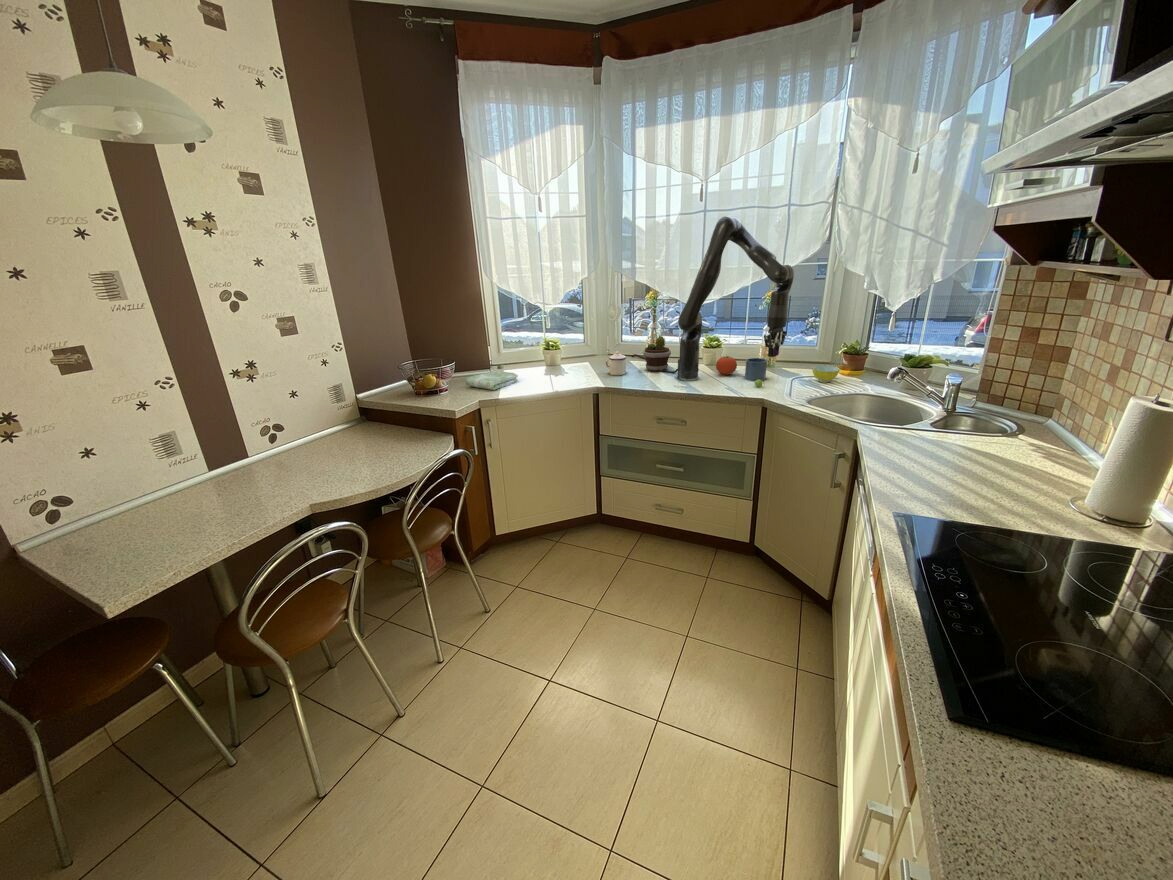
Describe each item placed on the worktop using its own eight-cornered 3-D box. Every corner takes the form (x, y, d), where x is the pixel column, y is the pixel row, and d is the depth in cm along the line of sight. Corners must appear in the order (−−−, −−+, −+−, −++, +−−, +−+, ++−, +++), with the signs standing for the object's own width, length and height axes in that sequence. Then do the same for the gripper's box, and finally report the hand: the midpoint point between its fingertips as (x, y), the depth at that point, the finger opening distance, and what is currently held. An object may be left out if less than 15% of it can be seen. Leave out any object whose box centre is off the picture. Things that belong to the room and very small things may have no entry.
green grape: (752, 386, 218) (753, 379, 217) (757, 385, 220) (757, 378, 219) (759, 388, 216) (760, 380, 215) (763, 386, 218) (764, 379, 217)
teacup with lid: (629, 372, 255) (629, 350, 251) (620, 376, 248) (620, 354, 244) (610, 370, 262) (609, 349, 257) (601, 374, 255) (600, 352, 251)
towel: (519, 381, 249) (518, 371, 247) (493, 391, 232) (491, 381, 230) (493, 378, 258) (492, 368, 256) (465, 388, 241) (464, 378, 239)
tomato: (739, 373, 242) (741, 354, 239) (730, 377, 235) (732, 357, 231) (720, 371, 249) (721, 352, 245) (711, 375, 241) (712, 355, 238)
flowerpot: (638, 368, 262) (638, 332, 255) (663, 365, 266) (664, 329, 259) (649, 374, 249) (649, 336, 242) (675, 371, 253) (676, 333, 246)
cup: (740, 378, 233) (742, 360, 230) (752, 375, 238) (753, 357, 235) (757, 381, 226) (759, 363, 223) (769, 378, 231) (771, 359, 228)
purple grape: (767, 356, 207) (768, 349, 206) (771, 355, 209) (772, 348, 208) (774, 358, 205) (775, 350, 203) (778, 356, 206) (779, 349, 205)
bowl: (811, 383, 218) (813, 370, 216) (810, 377, 228) (811, 365, 226) (839, 385, 215) (841, 371, 212) (836, 378, 225) (838, 365, 222)
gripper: (779, 313, 207) (774, 352, 213) (759, 316, 199) (755, 357, 206) (795, 314, 201) (790, 354, 208) (775, 318, 194) (771, 359, 200)
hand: (773, 355), depth 207 cm, fingers closed on purple grape, 3 cm apart
